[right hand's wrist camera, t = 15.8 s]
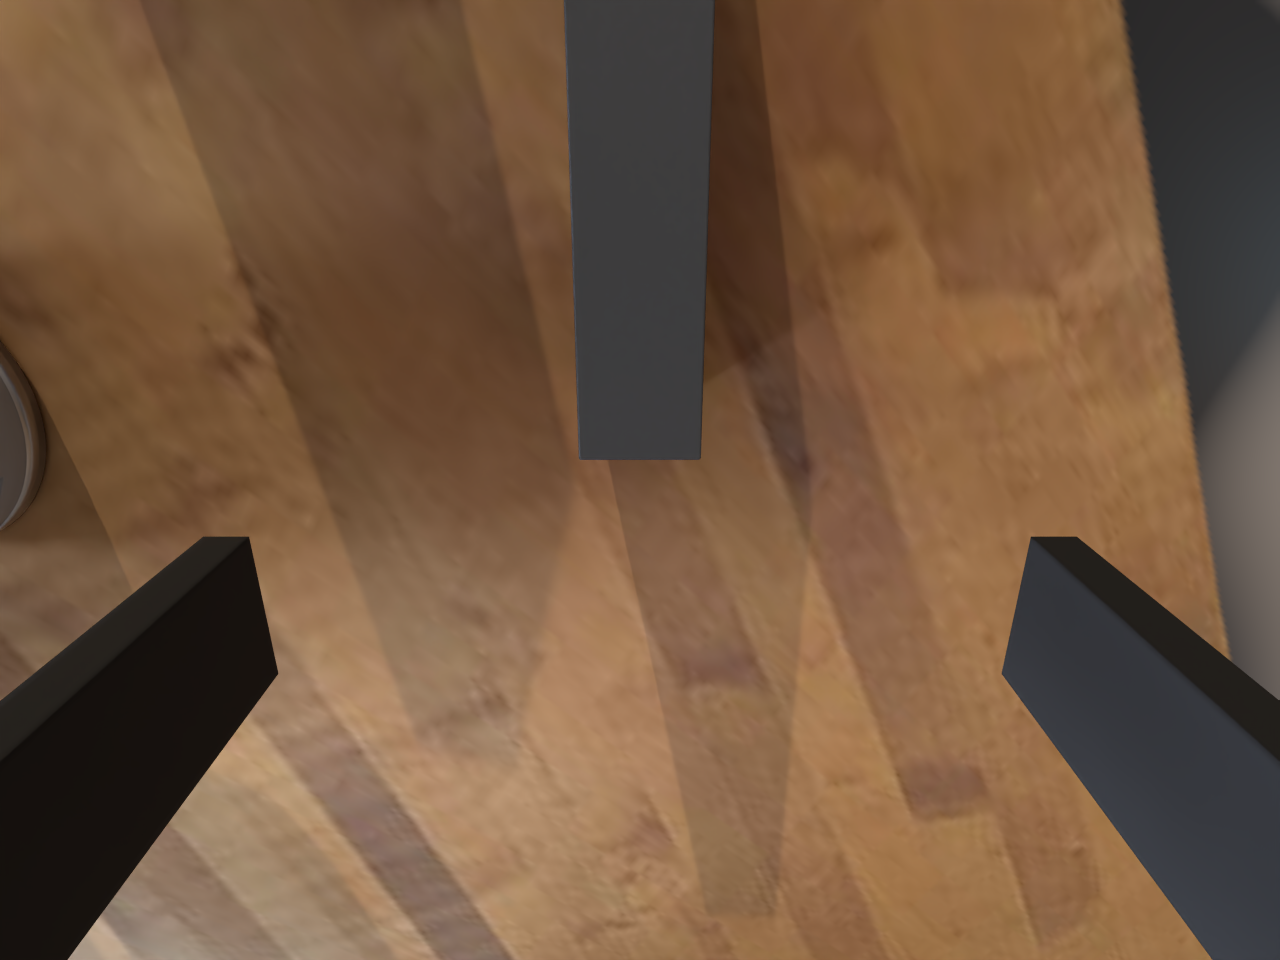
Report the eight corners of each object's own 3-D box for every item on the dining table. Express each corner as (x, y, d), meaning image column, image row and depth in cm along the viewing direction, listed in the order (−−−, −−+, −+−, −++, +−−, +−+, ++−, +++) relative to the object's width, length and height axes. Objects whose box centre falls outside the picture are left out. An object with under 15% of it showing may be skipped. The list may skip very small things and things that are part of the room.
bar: (686, 396, 38) (700, 460, 29) (592, 396, 38) (579, 460, 29) (705, -446, 27) (738, -759, 18) (572, -446, 27) (538, -759, 18)
